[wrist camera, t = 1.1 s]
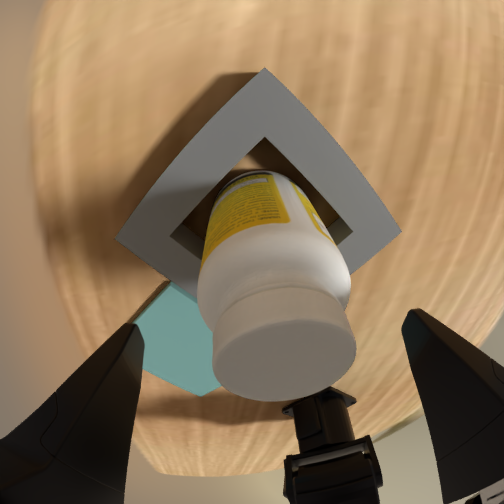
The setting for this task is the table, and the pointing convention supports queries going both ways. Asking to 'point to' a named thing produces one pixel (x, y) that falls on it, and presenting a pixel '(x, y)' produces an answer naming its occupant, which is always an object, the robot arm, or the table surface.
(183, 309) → the mat
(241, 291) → the supplement bottle
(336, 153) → the socket block
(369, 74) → the table surface
